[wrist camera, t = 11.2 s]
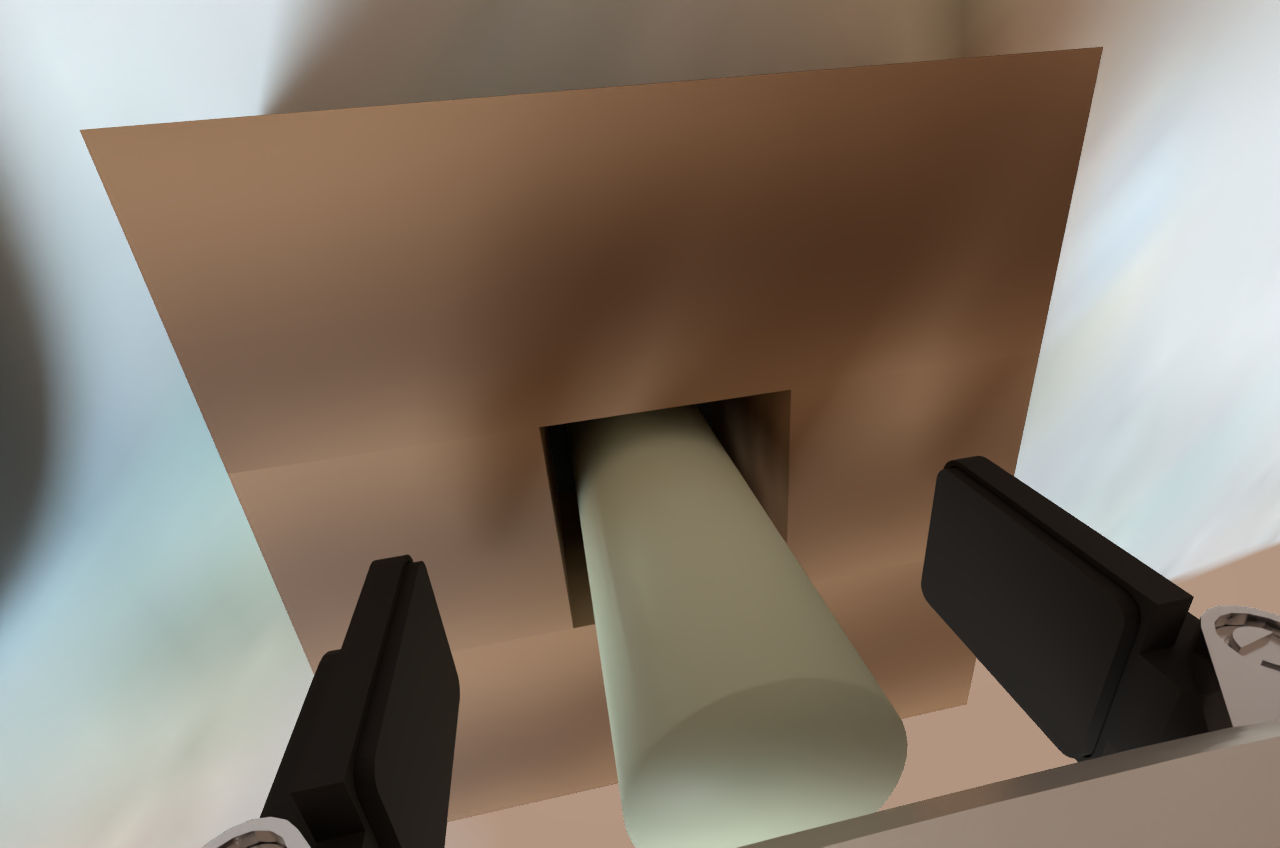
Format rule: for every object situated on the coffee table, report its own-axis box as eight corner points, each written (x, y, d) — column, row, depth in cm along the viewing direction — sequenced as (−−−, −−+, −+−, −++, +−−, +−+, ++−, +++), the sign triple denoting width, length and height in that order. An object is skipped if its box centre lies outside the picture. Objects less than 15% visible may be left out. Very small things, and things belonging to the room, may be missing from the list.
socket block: (252, 137, 14) (79, 130, 8) (904, 81, 16) (1103, 47, 10) (419, 657, 21) (384, 836, 15) (860, 571, 23) (966, 704, 17)
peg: (556, 359, 17) (607, 715, 6) (680, 342, 18) (923, 649, 7) (573, 469, 19) (636, 906, 8) (686, 451, 19) (893, 842, 8)
